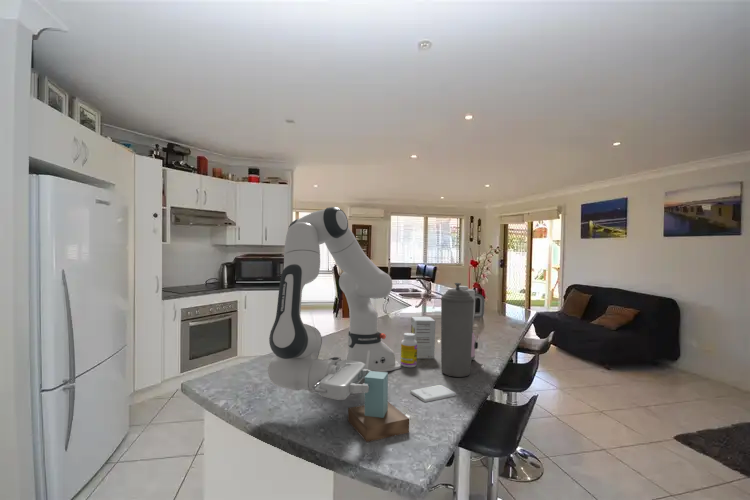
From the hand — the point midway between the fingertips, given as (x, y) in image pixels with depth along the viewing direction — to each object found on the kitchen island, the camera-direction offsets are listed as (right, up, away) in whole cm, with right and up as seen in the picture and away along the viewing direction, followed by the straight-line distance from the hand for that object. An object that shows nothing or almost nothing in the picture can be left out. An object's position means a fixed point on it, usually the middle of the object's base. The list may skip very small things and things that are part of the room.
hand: (373, 382), depth 97 cm
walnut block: (+1, -12, 0) cm, 12 cm away
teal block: (+1, -8, 0) cm, 8 cm away
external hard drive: (+19, -13, +23) cm, 32 cm away
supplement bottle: (+14, -12, +52) cm, 56 cm away
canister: (+32, -13, +44) cm, 56 cm away
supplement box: (+22, -13, +67) cm, 72 cm away
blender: (+39, -13, +63) cm, 75 cm away
